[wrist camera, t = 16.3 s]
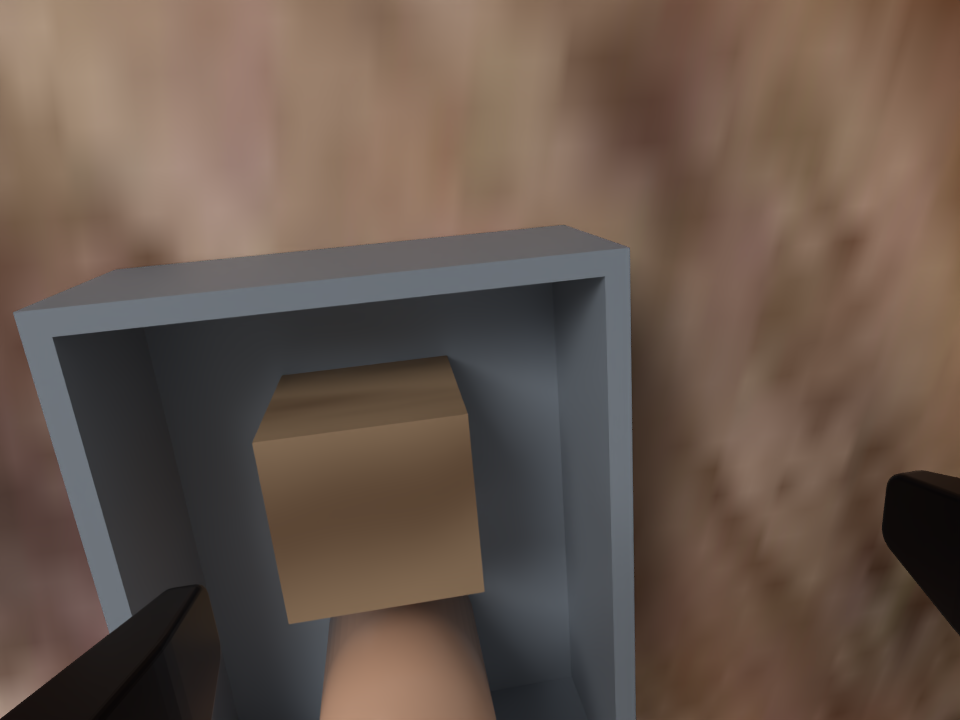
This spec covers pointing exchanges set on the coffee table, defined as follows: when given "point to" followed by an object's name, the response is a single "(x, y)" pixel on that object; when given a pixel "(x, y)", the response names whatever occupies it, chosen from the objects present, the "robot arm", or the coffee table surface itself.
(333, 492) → the walnut cube
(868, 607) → the coffee table surface
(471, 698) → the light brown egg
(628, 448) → the box
